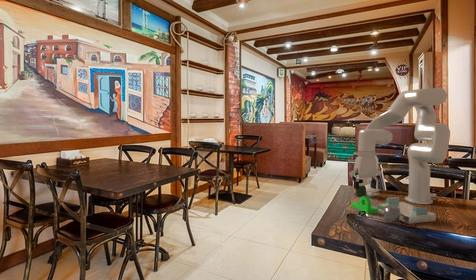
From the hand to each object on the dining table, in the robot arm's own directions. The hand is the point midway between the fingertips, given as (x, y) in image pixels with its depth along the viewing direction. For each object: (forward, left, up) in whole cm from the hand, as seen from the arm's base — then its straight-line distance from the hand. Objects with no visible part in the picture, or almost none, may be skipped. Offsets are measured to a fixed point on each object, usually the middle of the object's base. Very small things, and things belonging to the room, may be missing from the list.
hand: (364, 188), depth 134 cm
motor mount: (-9, +12, -10) cm, 18 cm away
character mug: (-14, -21, -11) cm, 27 cm away
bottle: (-27, -29, -11) cm, 41 cm away
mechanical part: (0, 0, -11) cm, 11 cm away
